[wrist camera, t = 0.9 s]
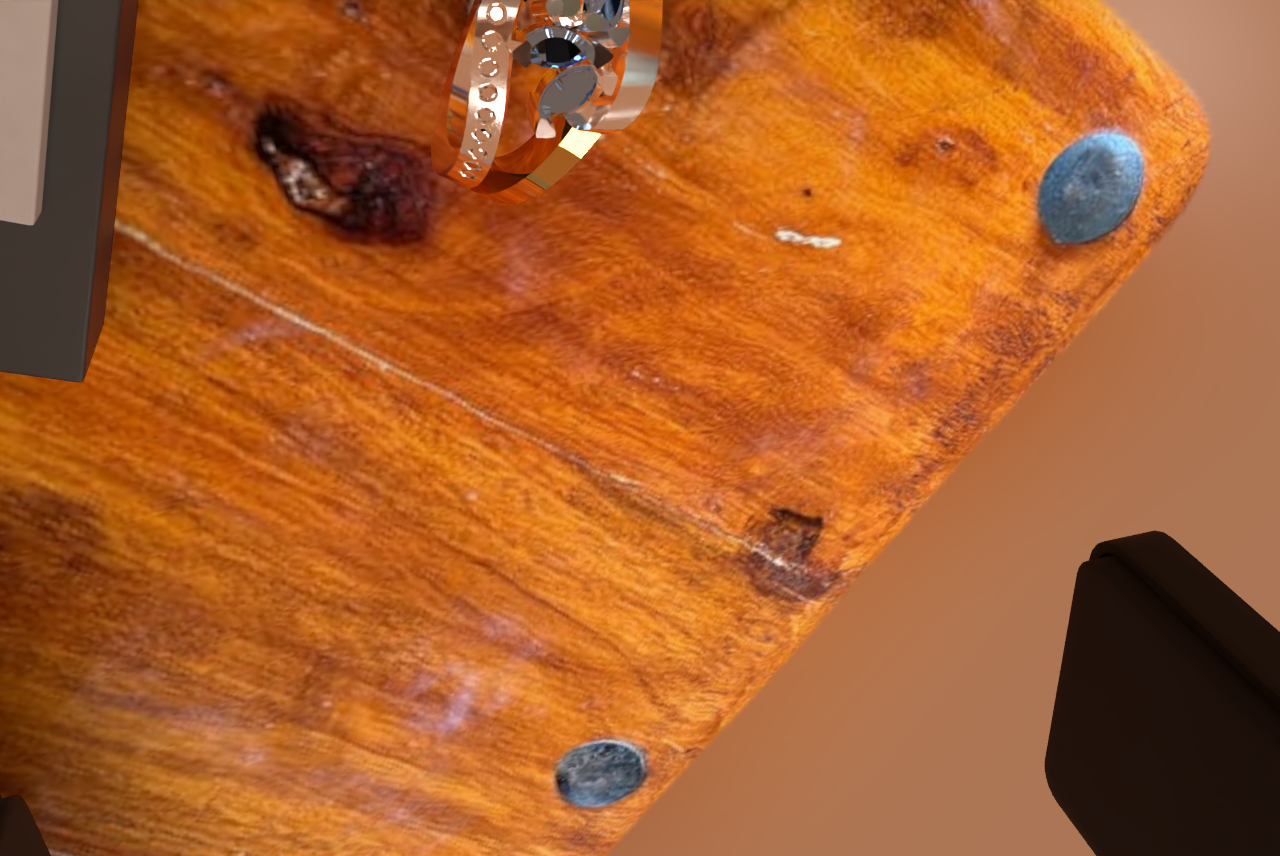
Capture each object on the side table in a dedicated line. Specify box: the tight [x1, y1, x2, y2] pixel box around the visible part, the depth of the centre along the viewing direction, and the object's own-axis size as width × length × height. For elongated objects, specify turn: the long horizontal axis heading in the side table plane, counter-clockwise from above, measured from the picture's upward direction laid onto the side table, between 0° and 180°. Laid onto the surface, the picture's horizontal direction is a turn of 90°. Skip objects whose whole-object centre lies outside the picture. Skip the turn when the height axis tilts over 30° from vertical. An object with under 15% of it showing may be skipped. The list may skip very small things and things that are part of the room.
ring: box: [432, 0, 663, 204], centre depth 21 cm, size 7×3×8 cm, turn 149°
